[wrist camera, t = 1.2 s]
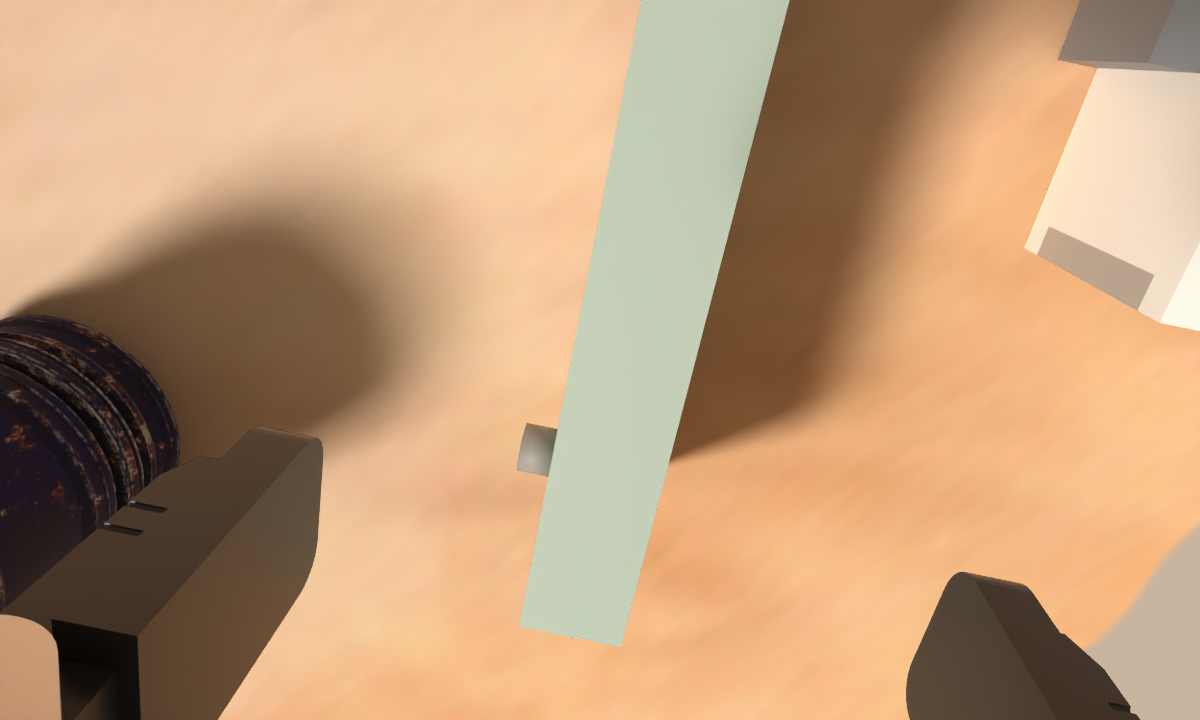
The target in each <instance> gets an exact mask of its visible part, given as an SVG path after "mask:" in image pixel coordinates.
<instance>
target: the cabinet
mask: <svg viewBox="0 0 1200 720" xmlns="http://www.w3.org/2000/svg"><path fill="white" fill-rule="evenodd" d="M1058 60H1061V61H1066V62H1071V63H1076V64H1081V65H1085V66H1090V67H1095V68H1097V70H1096V73H1095V75H1094V78H1093V80H1092V83H1091V85H1090V88H1089V90H1088V93H1087V95H1086V97H1085V100H1084V102H1083V105H1082V107H1081V110H1080V112H1079V115H1078V117H1077V120H1076V122H1075V124H1074V127H1073V129H1072V132H1071V134H1070V137H1069V139H1068V142H1067V144H1066V147H1065V149H1064V151H1063V154H1062V156H1061V159H1060V161H1059V164H1058V166H1057V169H1056V171H1055V174H1054V176H1053V179H1052V181H1051V183H1050V186H1049V188H1048V191H1047V193H1046V196H1045V198H1044V201H1043V203H1042V206H1041V208H1040V210H1039V213H1038V215H1037V218H1036V220H1035V223H1034V225H1033V228H1032V230H1031V233H1030V235H1029V237H1028V240H1027V242H1026V245H1025V247H1024V248H1025V249H1027V250H1029V251H1031V252H1033V253H1034V254H1036V255H1038V256H1040V257H1042V258H1043V259H1045V260H1047V261H1049V262H1051V263H1052V264H1054V265H1056V266H1058V267H1060V268H1061V269H1063V270H1065V271H1067V272H1069V273H1071V274H1072V275H1074V276H1076V277H1078V278H1080V279H1081V280H1083V281H1085V282H1087V283H1089V284H1090V285H1092V286H1094V287H1096V288H1098V289H1099V290H1101V291H1103V292H1105V293H1107V294H1109V295H1110V296H1112V297H1114V298H1116V299H1118V300H1119V301H1121V302H1123V303H1125V304H1127V305H1128V306H1130V307H1132V308H1134V309H1136V310H1138V311H1139V312H1141V313H1143V314H1145V315H1147V316H1148V317H1150V318H1152V319H1154V320H1156V321H1157V322H1159V323H1163V324H1168V325H1173V326H1178V327H1183V328H1188V329H1193V330H1197V331H1200V0H1081V1H1080V4H1079V7H1078V9H1077V12H1076V14H1075V17H1074V20H1073V22H1072V25H1071V27H1070V30H1069V32H1068V35H1067V38H1066V40H1065V43H1064V45H1063V48H1062V51H1061V53H1060V56H1059V58H1058Z"/></svg>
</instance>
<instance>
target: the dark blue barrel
mask: <svg viewBox="0 0 1200 720" xmlns="http://www.w3.org/2000/svg"><path fill="white" fill-rule="evenodd" d="M179 454H180V448H179V435H178V430H177V425H176V421H175V418H174V415H173V413H172V410H171V407H170V405H169V403H168V401H167V399H166V397H165V396H164V394H163V392H162V390H161V388H160V387H159V386H158V384H157V383H156V381H155V380H154V379H153V377H152V376H151V375H150V373H149V372H148V371H147V370H146V369H145V368H144V367H143V366H142V365H141V364H140V363H139V362H138V361H137V359H136V358H134V357H133V356H132V355H131V354H130V353H128V352H127V351H126V350H125V349H124V348H122V347H121V346H120V345H118V344H117V343H115V342H114V341H112V340H111V339H109V338H107V337H106V336H104V335H103V334H101V333H99V332H97V331H95V330H92V329H90V328H88V327H86V326H84V325H81V324H78V323H75V322H72V321H69V320H66V319H61V318H55V317H50V316H36V315H26V316H19V317H11V318H8V319H5V320H2V321H0V612H1V611H2V610H4V609H5V608H6V607H7V606H8V605H9V604H11V603H12V602H13V601H14V600H15V599H16V598H17V597H19V596H20V595H21V594H22V593H23V592H24V591H26V590H27V589H28V588H29V587H30V586H31V585H33V584H34V583H35V582H36V581H37V580H38V579H40V578H41V577H42V576H43V575H44V574H45V573H47V572H48V571H49V570H50V569H51V568H52V567H54V566H55V565H56V564H57V563H58V562H59V561H60V560H62V559H63V558H64V557H65V556H66V555H67V554H69V553H70V552H71V551H72V550H73V549H74V548H76V547H77V546H78V545H79V544H80V543H81V542H83V541H84V540H85V539H86V538H87V537H88V536H90V535H91V534H92V533H93V532H94V531H95V530H97V529H103V527H104V523H105V522H106V521H107V520H108V519H109V518H110V517H112V516H113V515H114V514H115V513H116V512H117V511H119V510H120V509H121V508H122V507H123V506H127V507H128V506H129V504H130V500H131V499H133V498H134V497H135V496H136V495H137V494H138V493H140V492H141V491H142V490H143V489H144V488H145V487H147V486H148V485H149V484H150V483H151V482H152V481H153V480H155V479H156V478H157V477H158V476H159V475H161V474H163V473H165V472H168V471H170V470H172V469H174V468H177V467H178V461H179Z"/></svg>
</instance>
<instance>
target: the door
mask: <svg viewBox="0 0 1200 720" xmlns="http://www.w3.org/2000/svg"><path fill="white" fill-rule="evenodd" d="M789 1H790V0H641V5H640V11H639V16H638V21H637V26H636V31H635V36H634V41H633V46H632V51H631V57H630V62H629V67H628V72H627V77H626V82H625V87H624V92H623V98H622V103H621V108H620V113H619V118H618V123H617V128H616V133H615V139H614V144H613V149H612V154H611V159H610V164H609V169H608V174H607V180H606V185H605V190H604V195H603V200H602V205H601V210H600V215H599V221H598V226H597V231H596V236H595V241H594V246H593V251H592V256H591V262H590V267H589V272H588V277H587V282H586V287H585V292H584V297H583V302H582V308H581V313H580V318H579V323H578V328H577V333H576V338H575V343H574V349H573V354H572V359H571V364H570V369H569V374H568V379H567V384H566V390H565V395H564V400H563V405H562V410H561V415H560V420H559V425H558V429H553V428H548V427H544V426H539V425H534V424H529V423H527V424H526V427H525V430H524V434H523V438H522V443H521V447H520V452H519V457H518V463H517V470H518V471H523V472H527V473H532V474H537V475H542V476H547V477H548V482H547V487H546V492H545V497H544V502H543V507H542V513H541V518H540V523H539V528H538V533H537V538H536V543H535V548H534V554H533V559H532V564H531V569H530V574H529V579H528V584H527V589H526V594H525V600H524V605H523V610H522V615H521V620H520V625H519V626H520V627H525V628H530V629H535V630H540V631H545V632H549V633H554V634H559V635H564V636H569V637H574V638H579V639H584V640H589V641H594V642H599V643H604V644H608V645H613V646H618V647H621V644H622V640H623V637H624V633H625V629H626V625H627V621H628V617H629V614H630V610H631V606H632V602H633V598H634V594H635V591H636V587H637V583H638V579H639V575H640V571H641V568H642V564H643V560H644V556H645V552H646V548H647V545H648V541H649V537H650V533H651V529H652V525H653V522H654V518H655V514H656V510H657V506H658V502H659V499H660V495H661V491H662V487H663V483H664V479H665V476H666V472H667V468H668V464H669V460H670V456H671V453H672V449H673V445H674V441H675V437H676V433H677V430H678V426H679V422H680V418H681V414H682V410H683V407H684V403H685V399H686V395H687V391H688V387H689V384H690V380H691V376H692V372H693V368H694V364H695V361H696V357H697V353H698V349H699V345H700V342H701V338H702V334H703V330H704V326H705V322H706V319H707V315H708V311H709V307H710V303H711V299H712V296H713V292H714V288H715V284H716V280H717V276H718V273H719V269H720V265H721V261H722V257H723V253H724V250H725V246H726V242H727V238H728V234H729V230H730V227H731V223H732V219H733V215H734V211H735V207H736V204H737V200H738V196H739V192H740V188H741V184H742V181H743V177H744V173H745V169H746V165H747V161H748V158H749V154H750V150H751V146H752V142H753V138H754V135H755V131H756V127H757V123H758V119H759V115H760V112H761V108H762V104H763V100H764V96H765V92H766V89H767V85H768V81H769V77H770V73H771V69H772V66H773V62H774V58H775V54H776V50H777V47H778V43H779V39H780V35H781V31H782V27H783V24H784V20H785V16H786V12H787V8H788V4H789Z"/></svg>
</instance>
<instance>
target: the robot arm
mask: <svg viewBox="0 0 1200 720" xmlns="http://www.w3.org/2000/svg"><path fill="white" fill-rule="evenodd" d="M322 466H323V447H322V443H321V441H320V439H319V438H315V437H310V436H306V435H301V434H296V433H291V432H286V431H281V430H276V429H271V428H267V427H262V426H257V427H255V428H253V429H252V430H251V431H249V432H248V433H247V434H246V435H245V436H244V437H243V438H242V439H241V440H240V441H239V442H238V443H237V444H236V445H235V446H234V447H233V448H231V449H230V450H229V451H228V452H227V453H226V454H225V455H224V456H223V457H222V458H221V459H220V460H219V459H214V458H209V457H204V456H202V457H200V458H198V459H195V460H193V461H191V462H188V463H186V464H184V465H181V466H179V467H177V468H174V469H172V470H170V471H168V472H165V473H163V474H161V475H159V476H158V477H157V478H156V479H155V480H153V481H152V482H151V483H150V484H149V485H148V486H147V487H145V488H144V489H143V490H142V491H141V492H140V493H138V494H137V495H136V496H135V497H134V498H133V499H131V500H130V504H129V506H128V507H127V506H123V507H122V508H121V509H120V510H119V511H117V512H116V513H115V514H114V515H113V516H112V517H110V518H109V519H108V520H107V521H106V522H105V523H104V527H103V529H97V530H95V531H94V532H93V533H92V534H91V535H90V536H88V537H87V538H86V539H85V540H84V541H83V542H81V543H80V544H79V545H78V546H77V547H76V548H74V549H73V550H72V551H71V552H70V553H69V554H67V555H66V556H65V557H64V558H63V559H62V560H60V561H59V562H58V563H57V564H56V565H55V566H54V567H52V568H51V569H50V570H49V571H48V572H47V573H45V574H44V575H43V576H42V577H41V578H40V579H38V580H37V581H36V582H35V583H34V584H33V585H31V586H30V587H29V588H28V589H27V590H26V591H24V592H23V593H22V594H21V595H20V596H19V597H17V598H16V599H15V600H14V601H13V602H12V603H11V604H9V605H8V606H7V607H6V608H5V609H4V610H2V611H1V612H0V720H218V718H219V717H220V715H221V714H222V712H223V711H224V709H225V708H226V706H227V705H228V703H229V702H230V700H231V699H232V697H233V695H234V694H235V692H236V691H237V689H238V688H239V686H240V685H241V683H242V682H243V680H244V679H245V677H246V676H247V674H248V673H249V671H250V669H251V668H252V666H253V665H254V663H255V662H256V660H257V659H258V657H259V656H260V654H261V653H262V651H263V650H264V648H265V647H266V645H267V644H268V642H269V640H270V639H271V637H272V636H273V634H274V633H275V631H276V630H277V628H278V627H279V625H280V624H281V622H282V621H283V619H284V618H285V616H286V614H287V613H288V611H289V610H290V608H291V607H292V605H293V604H294V602H295V601H296V599H297V598H298V596H299V595H300V593H301V591H302V590H303V588H304V586H305V583H306V581H307V579H308V576H309V574H310V571H311V568H312V565H313V561H314V558H315V553H316V548H317V540H318V525H319V511H320V496H321V481H322ZM906 702H907V709H908V714H909V718H910V720H1140V719H1139V718H1138V716H1137V715H1136V714H1132V713H1131V712H1130V707H1131V706H1130V705H1129V704H1128V702H1127V701H1126V699H1125V698H1124V697H1123V695H1122V694H1121V693H1120V691H1119V690H1118V688H1117V687H1116V685H1115V684H1114V683H1113V681H1112V680H1111V678H1110V677H1109V676H1108V674H1107V673H1106V671H1105V670H1104V669H1103V668H1102V667H1101V666H1100V665H1099V664H1098V663H1096V662H1095V661H1094V660H1093V659H1092V658H1091V657H1090V656H1088V655H1087V654H1086V653H1085V652H1084V651H1083V650H1082V649H1081V648H1080V647H1078V646H1077V645H1076V644H1075V643H1074V642H1073V641H1072V640H1071V639H1069V638H1068V637H1067V636H1066V635H1065V634H1061V633H1060V632H1059V631H1058V629H1057V628H1056V626H1055V625H1054V623H1053V622H1052V620H1051V619H1050V617H1049V616H1048V615H1047V613H1046V612H1045V610H1044V609H1043V607H1042V606H1041V604H1040V603H1039V601H1038V600H1037V599H1036V597H1035V596H1034V594H1033V593H1032V591H1031V590H1030V589H1029V588H1028V587H1027V586H1025V585H1023V584H1020V583H1015V582H1011V581H1006V580H1001V579H996V578H991V577H986V576H981V575H976V574H972V573H967V572H959V573H957V574H955V575H954V576H953V577H952V578H951V579H950V580H949V582H948V583H947V585H946V587H945V589H944V591H943V594H942V596H941V598H940V600H939V603H938V605H937V607H936V609H935V612H934V614H933V616H932V618H931V620H930V623H929V625H928V627H927V629H926V632H925V634H924V636H923V638H922V641H921V643H920V645H919V647H918V650H917V652H916V654H915V656H914V659H913V661H912V663H911V666H910V669H909V673H908V678H907V686H906Z"/></svg>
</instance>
